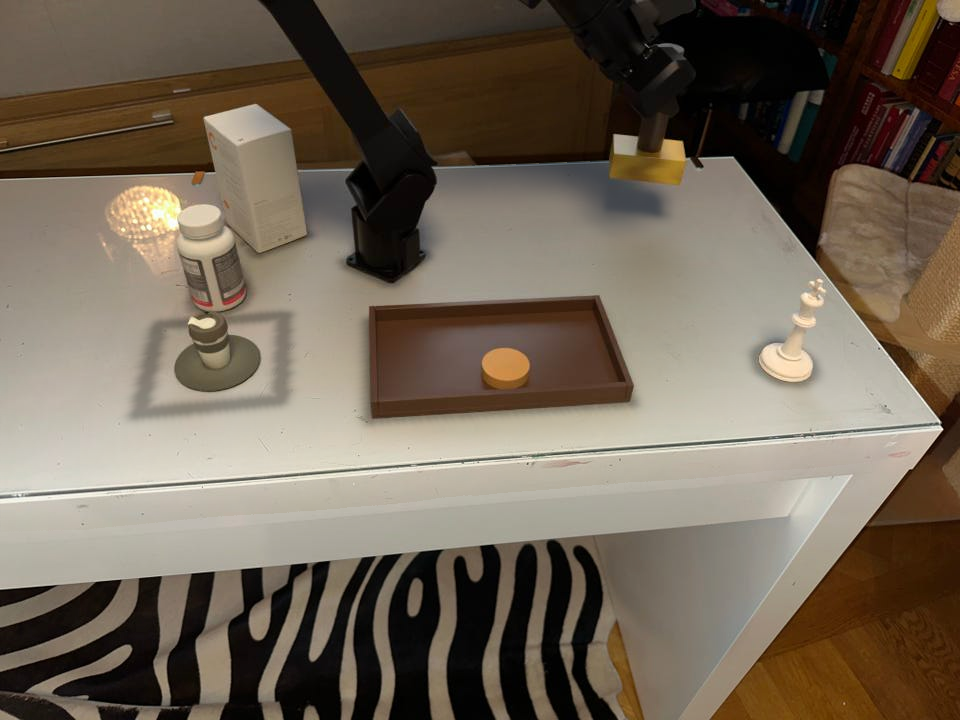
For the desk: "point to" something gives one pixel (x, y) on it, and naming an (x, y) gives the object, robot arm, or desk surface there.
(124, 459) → the desk surface
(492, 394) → the tray
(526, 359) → the disc
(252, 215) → the small box
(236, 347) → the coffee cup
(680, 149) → the sponge wand
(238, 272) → the pill bottle
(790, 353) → the chess piece
